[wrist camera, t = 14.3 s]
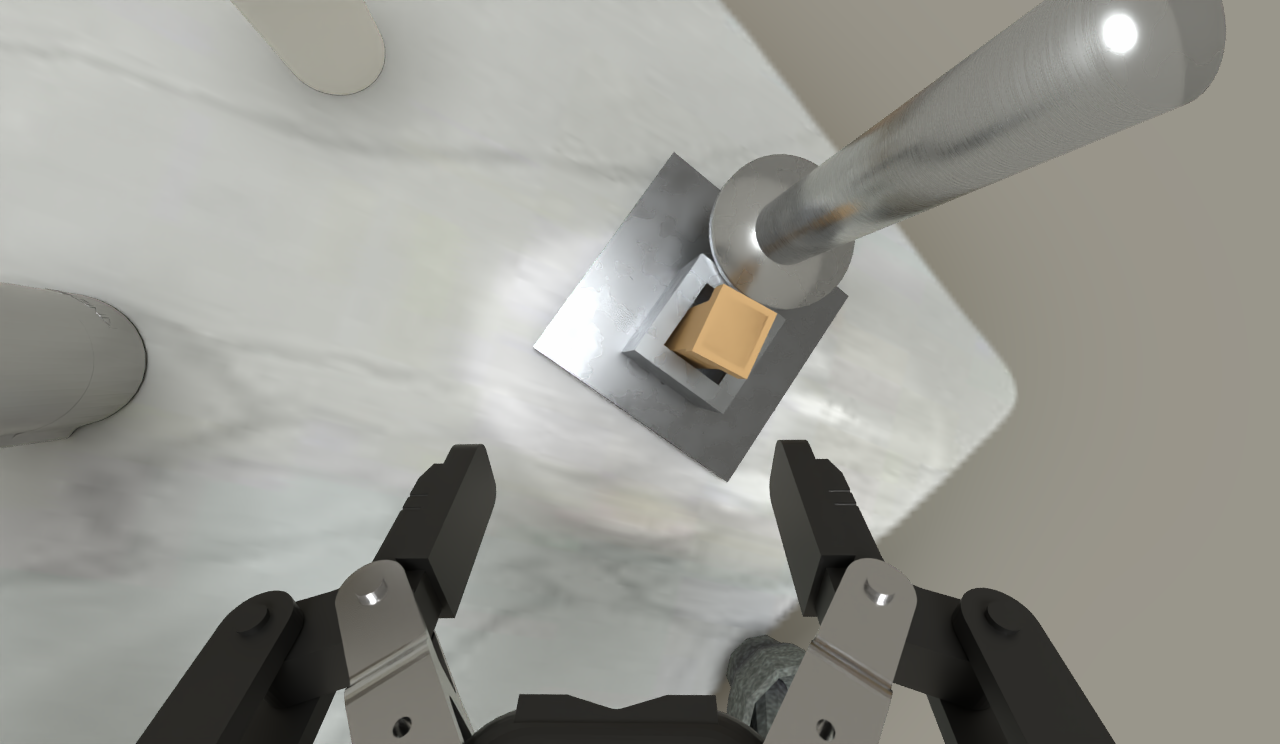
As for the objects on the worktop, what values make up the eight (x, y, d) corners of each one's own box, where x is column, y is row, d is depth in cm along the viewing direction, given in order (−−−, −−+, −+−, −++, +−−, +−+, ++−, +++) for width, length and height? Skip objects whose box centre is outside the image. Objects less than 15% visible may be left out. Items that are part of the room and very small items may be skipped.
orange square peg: (687, 375, 40) (747, 379, 28) (648, 355, 39) (691, 350, 27) (709, 328, 40) (777, 313, 28) (670, 308, 39) (723, 283, 28)
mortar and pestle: (766, 594, 43) (849, 681, 31) (825, 664, 44) (926, 772, 33) (675, 685, 41) (726, 812, 30) (739, 754, 43) (812, 903, 31)
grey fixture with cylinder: (721, 478, 42) (1107, 725, 13) (533, 347, 39) (493, 292, 10) (852, 277, 44) (1427, 109, 15) (685, 137, 41) (1018, -412, 12)
